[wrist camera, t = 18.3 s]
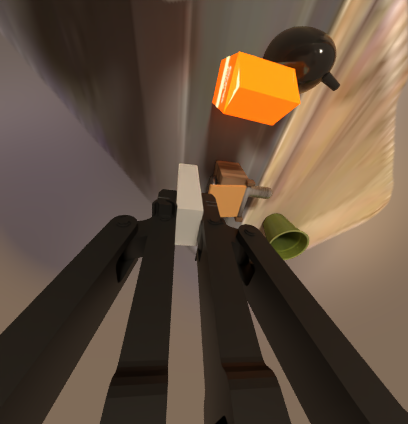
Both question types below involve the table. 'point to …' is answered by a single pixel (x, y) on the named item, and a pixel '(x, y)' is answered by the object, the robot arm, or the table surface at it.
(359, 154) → the table surface
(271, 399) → the robot arm
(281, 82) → the orange juice
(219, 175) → the hitch block
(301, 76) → the pump dispenser
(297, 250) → the plant pot
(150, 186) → the table surface
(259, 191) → the pin
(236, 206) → the plate
